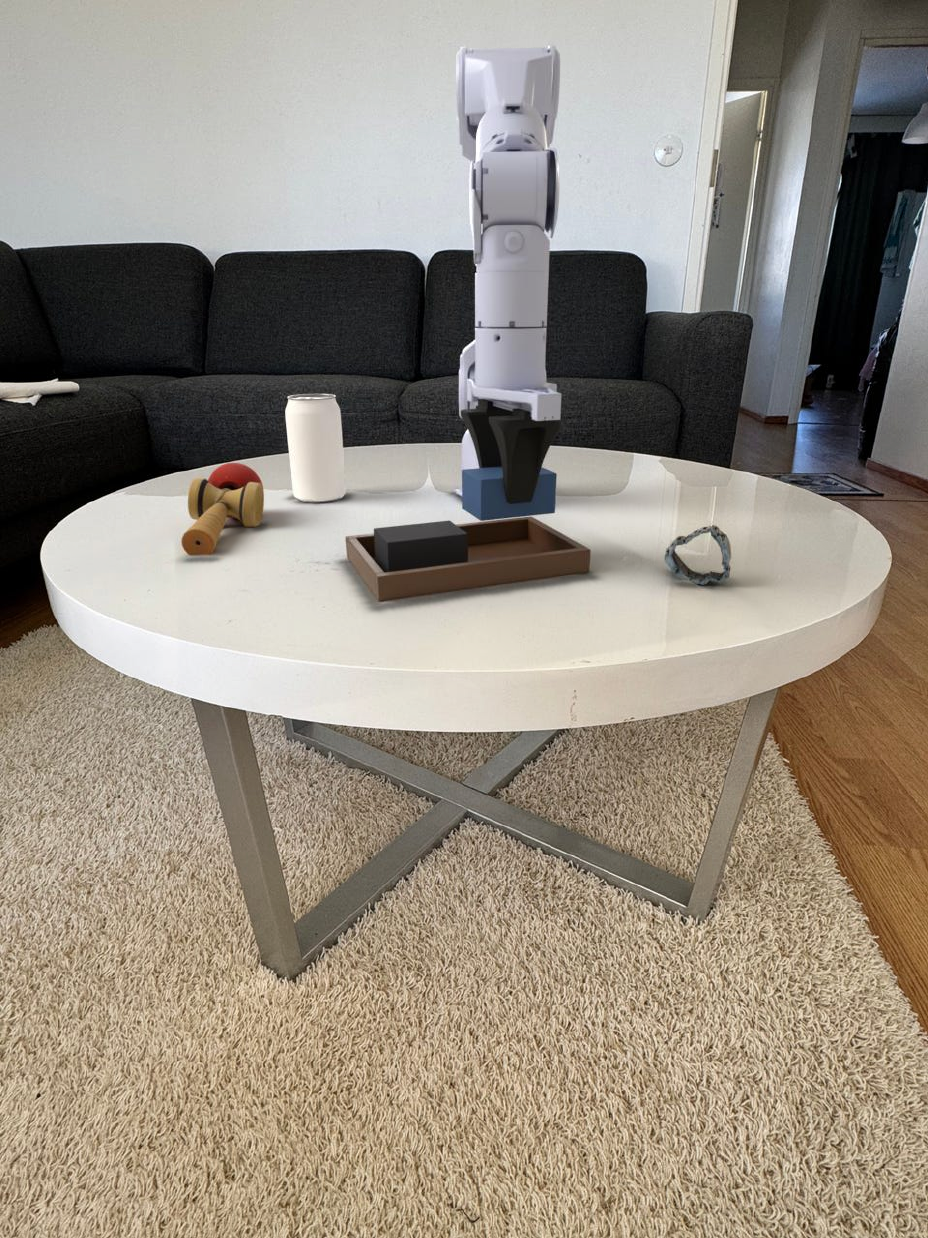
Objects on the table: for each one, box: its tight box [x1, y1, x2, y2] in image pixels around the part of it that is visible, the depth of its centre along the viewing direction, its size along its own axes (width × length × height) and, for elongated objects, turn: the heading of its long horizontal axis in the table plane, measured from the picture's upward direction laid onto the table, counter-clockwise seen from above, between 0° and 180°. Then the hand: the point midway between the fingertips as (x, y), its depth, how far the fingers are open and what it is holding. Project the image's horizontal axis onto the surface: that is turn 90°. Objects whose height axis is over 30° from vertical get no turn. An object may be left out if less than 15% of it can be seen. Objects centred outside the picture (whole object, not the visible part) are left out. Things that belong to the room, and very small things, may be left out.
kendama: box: [180, 462, 265, 556], centre depth 74 cm, size 8×6×18 cm
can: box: [284, 393, 347, 504], centre depth 87 cm, size 6×6×12 cm
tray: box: [345, 516, 592, 603], centre depth 63 cm, size 12×19×2 cm, turn 111°
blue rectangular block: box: [461, 466, 558, 522], centre depth 63 cm, size 4×7×4 cm, turn 111°
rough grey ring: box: [664, 524, 732, 586], centre depth 60 cm, size 3×5×5 cm
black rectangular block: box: [373, 520, 468, 573], centre depth 62 cm, size 4×7×4 cm, turn 111°
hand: (507, 495), depth 63 cm, fingers closed on blue rectangular block, 4 cm apart
